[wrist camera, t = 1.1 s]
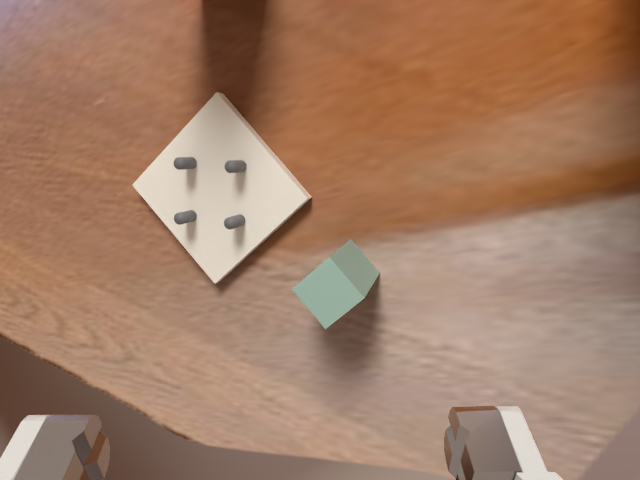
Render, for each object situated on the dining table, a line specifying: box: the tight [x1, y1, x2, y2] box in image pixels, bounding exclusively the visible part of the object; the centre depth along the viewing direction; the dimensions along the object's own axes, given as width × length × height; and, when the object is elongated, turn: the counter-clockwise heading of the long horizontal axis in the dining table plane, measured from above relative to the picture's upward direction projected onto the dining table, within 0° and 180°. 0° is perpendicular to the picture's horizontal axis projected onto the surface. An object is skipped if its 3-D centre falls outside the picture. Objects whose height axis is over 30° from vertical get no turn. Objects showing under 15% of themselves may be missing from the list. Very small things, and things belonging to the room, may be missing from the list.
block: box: [292, 239, 380, 329], centre depth 46 cm, size 4×4×9 cm
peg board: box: [133, 92, 312, 284], centre depth 51 cm, size 14×14×4 cm
